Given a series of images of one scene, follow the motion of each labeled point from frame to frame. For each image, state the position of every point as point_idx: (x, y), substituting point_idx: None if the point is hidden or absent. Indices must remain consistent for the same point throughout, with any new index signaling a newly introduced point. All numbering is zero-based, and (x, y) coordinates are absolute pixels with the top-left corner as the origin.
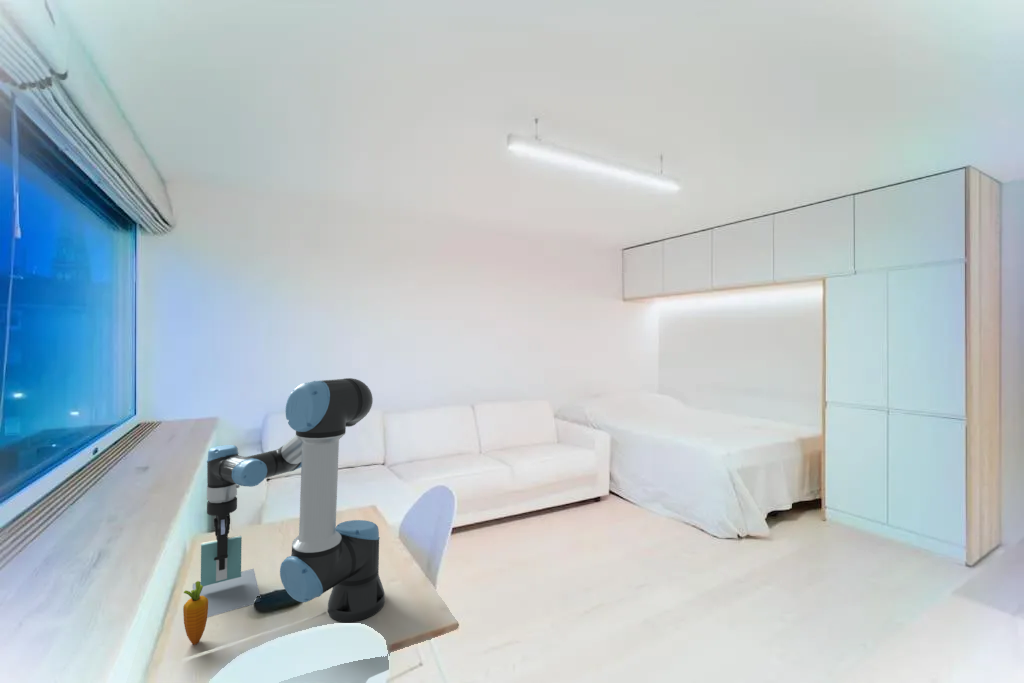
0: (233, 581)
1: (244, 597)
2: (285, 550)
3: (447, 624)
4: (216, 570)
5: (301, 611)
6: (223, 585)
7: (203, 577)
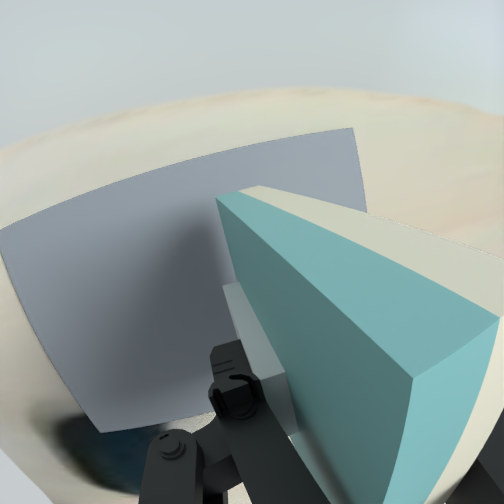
0: None
1: (135, 387)
2: None
3: None
4: (235, 321)
5: (67, 484)
6: None
7: (226, 220)
